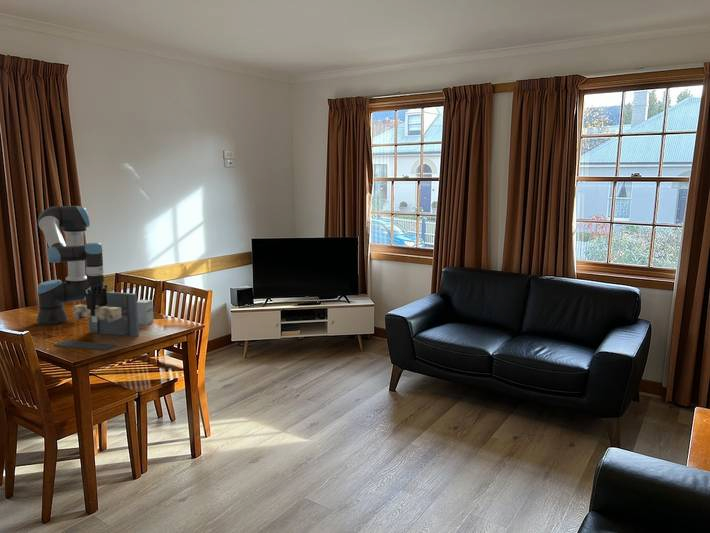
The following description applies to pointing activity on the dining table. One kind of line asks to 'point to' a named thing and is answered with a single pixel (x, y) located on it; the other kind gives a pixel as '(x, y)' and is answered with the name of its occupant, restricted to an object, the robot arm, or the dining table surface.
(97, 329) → the hook standards
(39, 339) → the dining table surface
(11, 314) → the dining table surface
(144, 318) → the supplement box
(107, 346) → the rubber mat
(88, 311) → the birch rail
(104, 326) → the wall board
